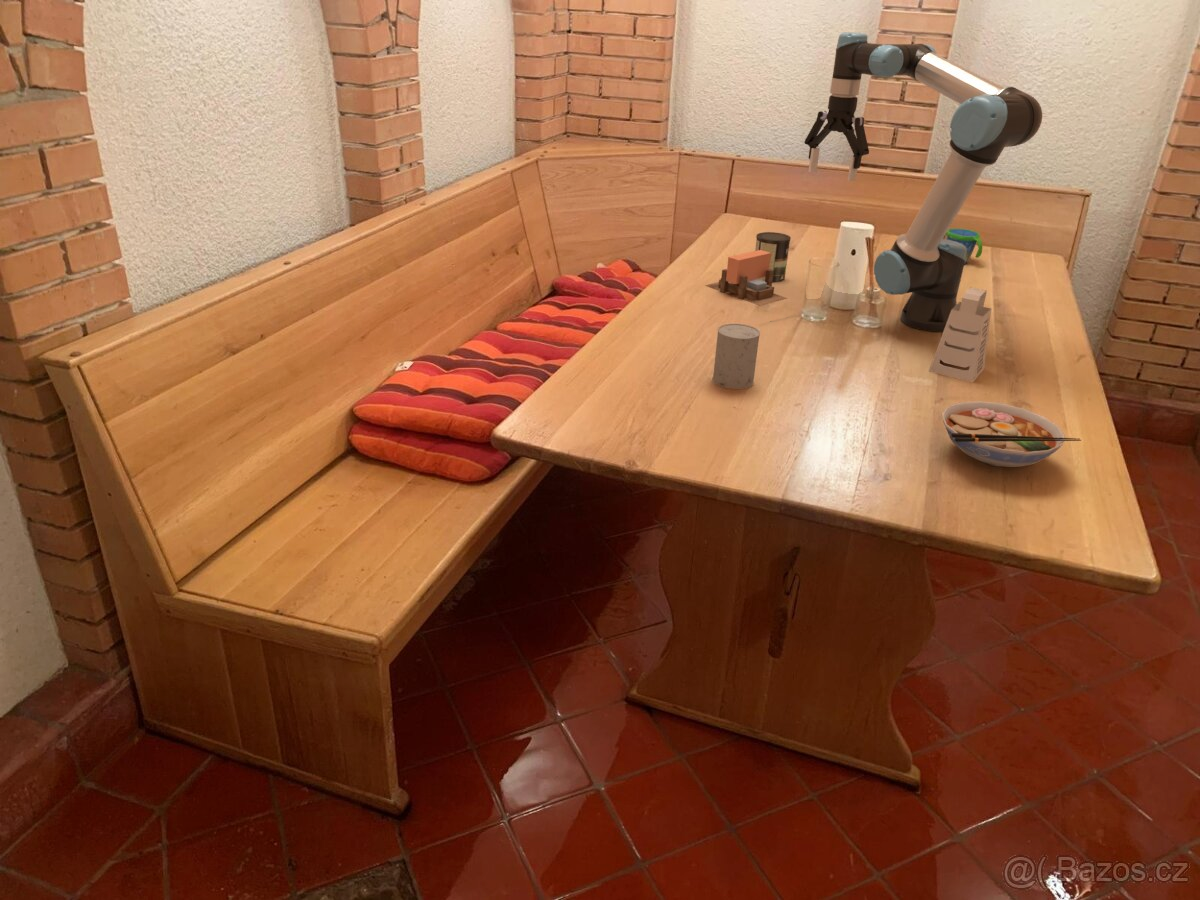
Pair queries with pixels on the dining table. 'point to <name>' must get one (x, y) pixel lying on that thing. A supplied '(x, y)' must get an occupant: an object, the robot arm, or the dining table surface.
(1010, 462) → the ramen bowl
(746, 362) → the grey concrete cylinder
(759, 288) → the blue-grey block
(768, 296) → the jig
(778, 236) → the coffee can
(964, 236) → the snack cup
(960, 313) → the grater
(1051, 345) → the dining table surface
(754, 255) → the orange block
